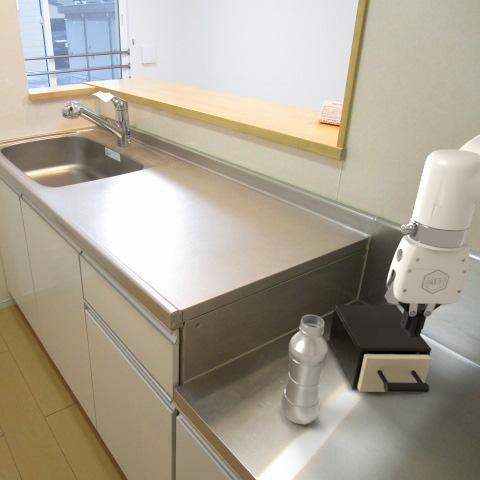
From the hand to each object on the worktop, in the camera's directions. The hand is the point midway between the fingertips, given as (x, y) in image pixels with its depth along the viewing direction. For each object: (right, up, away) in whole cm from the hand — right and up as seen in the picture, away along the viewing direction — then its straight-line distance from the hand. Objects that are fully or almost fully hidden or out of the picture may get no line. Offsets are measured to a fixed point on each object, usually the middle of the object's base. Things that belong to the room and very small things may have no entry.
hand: (410, 331), depth 76 cm
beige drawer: (+1, -11, +11) cm, 16 cm away
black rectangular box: (+1, -10, +16) cm, 19 cm away
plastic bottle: (-18, -16, +4) cm, 24 cm away
